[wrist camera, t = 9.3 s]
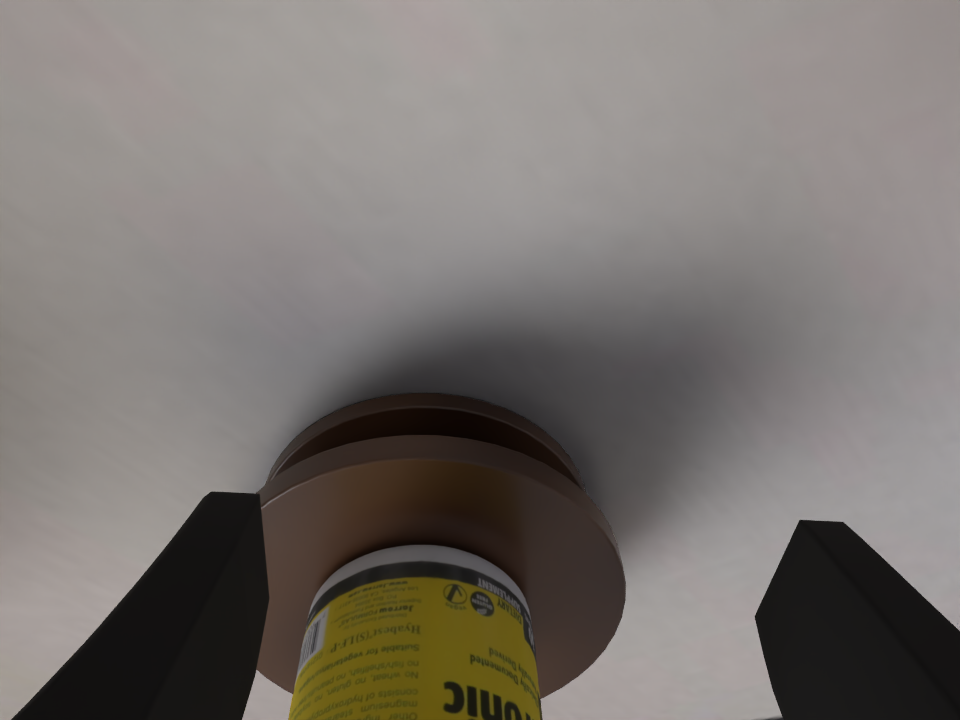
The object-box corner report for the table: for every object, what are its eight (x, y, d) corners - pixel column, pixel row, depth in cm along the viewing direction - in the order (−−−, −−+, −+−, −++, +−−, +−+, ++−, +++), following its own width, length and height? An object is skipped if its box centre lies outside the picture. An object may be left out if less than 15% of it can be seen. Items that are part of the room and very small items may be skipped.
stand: (640, 387, 19) (669, 470, 16) (573, 638, 24) (587, 729, 22) (227, 362, 18) (190, 445, 15) (256, 627, 23) (233, 720, 21)
